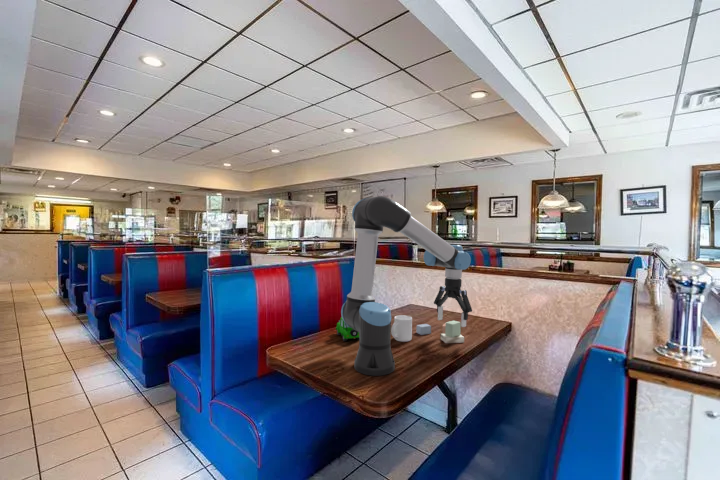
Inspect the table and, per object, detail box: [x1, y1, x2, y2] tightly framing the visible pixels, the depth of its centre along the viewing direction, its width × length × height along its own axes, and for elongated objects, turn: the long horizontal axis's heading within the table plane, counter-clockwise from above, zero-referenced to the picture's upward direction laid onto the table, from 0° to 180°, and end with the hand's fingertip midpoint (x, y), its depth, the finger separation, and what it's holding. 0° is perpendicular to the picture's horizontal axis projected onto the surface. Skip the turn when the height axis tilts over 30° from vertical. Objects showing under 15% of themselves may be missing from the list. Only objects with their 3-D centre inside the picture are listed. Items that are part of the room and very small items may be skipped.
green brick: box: [445, 320, 462, 337], centre depth 161 cm, size 6×4×6 cm, turn 127°
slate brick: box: [415, 323, 432, 336], centre depth 172 cm, size 6×4×4 cm, turn 117°
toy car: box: [335, 316, 359, 342], centre depth 163 cm, size 8×17×10 cm, turn 20°
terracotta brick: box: [441, 322, 446, 334], centre depth 174 cm, size 6×4×4 cm, turn 152°
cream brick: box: [440, 333, 465, 344], centre depth 161 cm, size 9×6×3 cm, turn 98°
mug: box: [391, 314, 413, 343], centre depth 161 cm, size 12×8×10 cm
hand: (451, 323), depth 161 cm, fingers open, 13 cm apart
